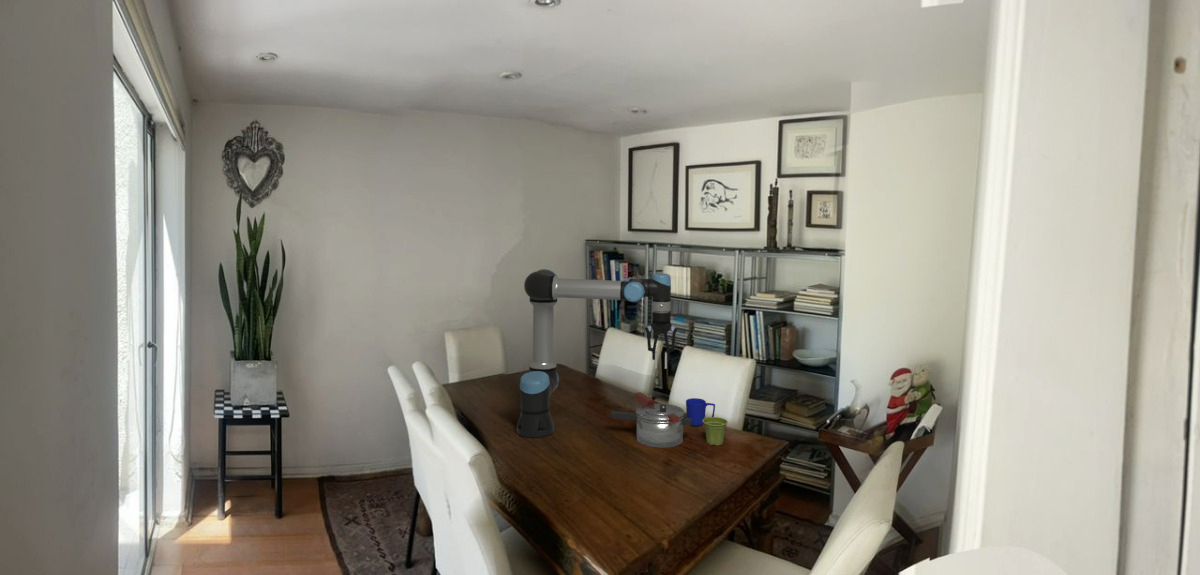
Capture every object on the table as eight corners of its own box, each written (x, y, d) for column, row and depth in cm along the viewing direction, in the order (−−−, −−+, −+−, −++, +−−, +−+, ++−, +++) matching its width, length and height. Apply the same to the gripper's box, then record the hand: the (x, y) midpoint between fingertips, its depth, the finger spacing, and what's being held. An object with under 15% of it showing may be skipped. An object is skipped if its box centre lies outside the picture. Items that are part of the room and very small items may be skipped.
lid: (617, 402, 238) (617, 392, 238) (656, 396, 245) (657, 387, 245) (653, 426, 209) (653, 415, 209) (697, 419, 216) (697, 409, 216)
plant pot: (712, 449, 214) (713, 426, 214) (697, 441, 223) (697, 419, 222) (732, 444, 219) (732, 422, 218) (716, 436, 227) (716, 415, 226)
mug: (714, 428, 236) (715, 405, 235) (685, 426, 238) (685, 403, 237) (714, 422, 244) (715, 399, 243) (686, 420, 246) (686, 397, 245)
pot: (605, 442, 222) (605, 416, 221) (617, 426, 240) (617, 402, 238) (687, 451, 213) (687, 424, 212) (694, 433, 230) (694, 409, 229)
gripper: (640, 312, 233) (640, 369, 235) (681, 313, 231) (681, 370, 233) (641, 309, 240) (641, 365, 242) (681, 310, 238) (680, 366, 240)
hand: (660, 367), depth 238 cm, fingers open, 3 cm apart
